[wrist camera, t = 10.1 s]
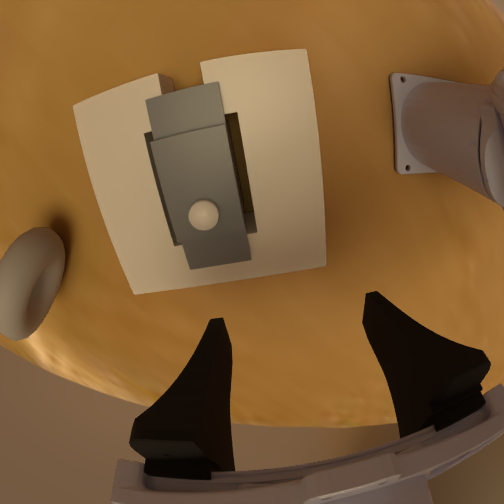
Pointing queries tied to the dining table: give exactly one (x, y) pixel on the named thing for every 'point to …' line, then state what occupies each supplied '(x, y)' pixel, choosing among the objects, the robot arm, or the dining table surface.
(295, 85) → the chassis
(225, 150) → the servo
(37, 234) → the donut
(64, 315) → the dining table surface
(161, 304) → the dining table surface
